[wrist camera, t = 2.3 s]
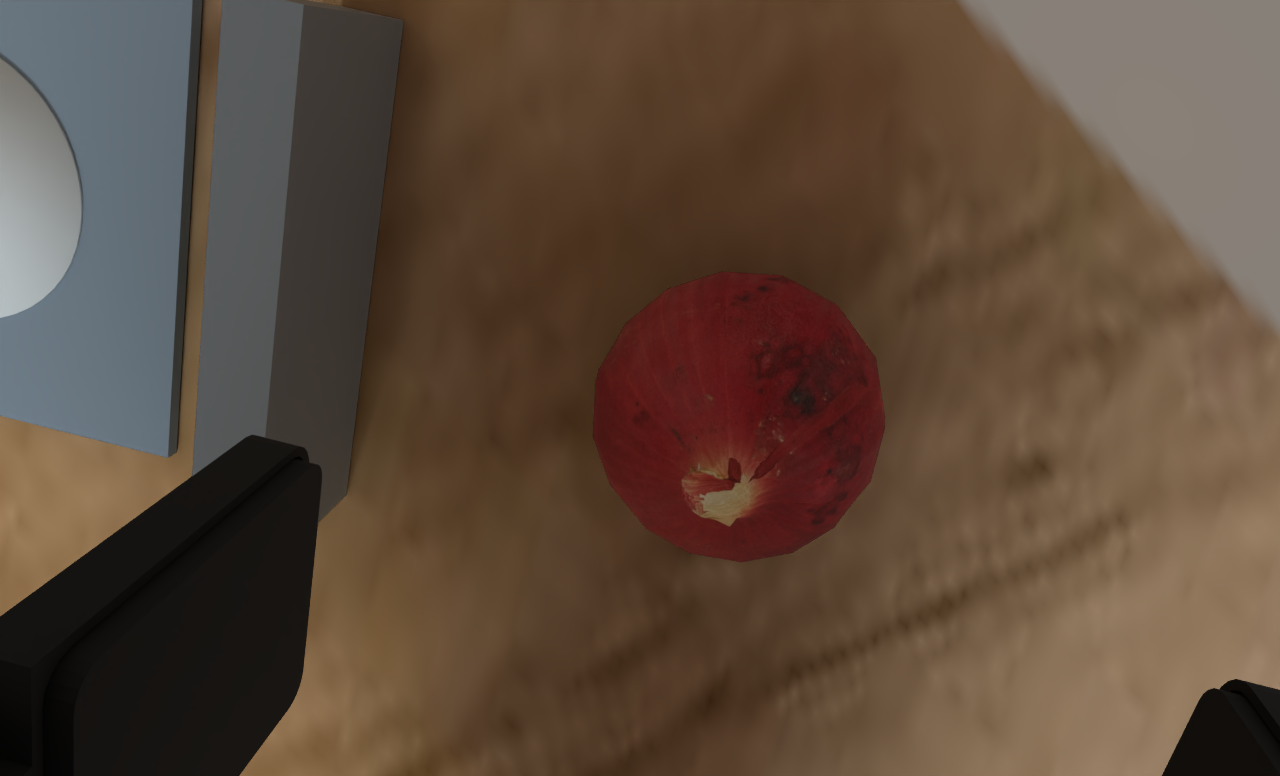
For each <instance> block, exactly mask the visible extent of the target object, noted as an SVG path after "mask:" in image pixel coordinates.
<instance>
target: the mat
mask: <svg viewBox="0 0 1280 776" xmlns="http://www.w3.org/2000/svg"><path fill="white" fill-rule="evenodd" d="M201 16H202V0H0V416H3V417H7V418H11V419H15V420H19V421H23V422H27V423H31V424H35V425H39V426H43V427H47V428H51V429H55V430H59V431H63V432H67V433H71V434H75V435H79V436H83V437H87V438H91V439H95V440H99V441H103V442H107V443H111V444H115V445H119V446H123V447H127V448H131V449H135V450H139V451H143V452H147V453H151V454H155V455H159V456H163V457H167V458H168V457H170V456H171V455H173V454H175V453H176V452H177V436H178V418H179V401H180V383H181V366H182V348H183V331H184V313H185V296H186V278H187V261H188V243H189V226H190V208H191V191H192V173H193V156H194V139H195V121H196V104H197V86H198V69H199V51H200V34H201Z"/></svg>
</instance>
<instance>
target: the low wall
mask: <svg viewBox="0 0 1280 776" xmlns="http://www.w3.org/2000/svg"><path fill="white" fill-rule="evenodd" d="M403 23H404V20H402V19H397V18H393V17H388V16H384V15H379V14H375V13H370V12H366V11H361V10H357V9H352V8H348V7H343V6H338V5H332V4H326V3H320V2H313V1H307V0H222V13H221V29H220V45H219V61H218V77H217V92H216V108H215V124H214V140H213V155H212V171H211V187H210V203H209V218H208V234H207V250H206V266H205V281H204V297H203V313H202V329H201V345H200V360H199V376H198V392H197V408H196V423H195V439H194V455H193V471H192V476H193V475H195V474H196V473H197V472H199V471H200V470H202V469H203V468H204V467H206V466H207V465H208V464H210V463H211V462H213V461H214V460H215V459H217V458H218V457H219V456H221V455H222V454H223V453H225V452H226V451H228V450H229V449H230V448H232V447H233V446H234V445H236V444H237V443H239V442H240V441H241V440H243V439H244V438H245V437H248V436H250V435H257V436H261V437H265V438H269V439H273V440H277V441H281V442H285V443H289V444H293V445H297V446H301V447H304V448H305V449H306V450H307V452H308V456H309V462H310V463H314V464H318V465H319V466H320V467H321V470H322V487H321V497H320V507H319V517H318V522H319V521H320V520H322V519H323V518H324V517H325V516H326V515H327V514H328V513H329V512H330V511H331V510H332V509H333V508H334V507H335V506H336V505H337V504H338V503H339V502H340V501H341V500H342V499H343V498H344V497H345V496H346V494H347V486H348V478H349V470H350V461H351V453H352V445H353V437H354V428H355V420H356V412H357V403H358V395H359V387H360V379H361V370H362V362H363V354H364V346H365V337H366V329H367V321H368V312H369V304H370V296H371V288H372V279H373V271H374V263H375V254H376V246H377V238H378V230H379V221H380V213H381V205H382V197H383V188H384V180H385V172H386V163H387V155H388V147H389V139H390V130H391V122H392V114H393V106H394V97H395V89H396V81H397V72H398V64H399V56H400V48H401V39H402V31H403Z"/></svg>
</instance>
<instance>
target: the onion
mask: <svg viewBox="0 0 1280 776" xmlns="http://www.w3.org/2000/svg"><path fill="white" fill-rule="evenodd" d="M884 429H885V414H884V407H883V401H882V394H881V388H880V381H879V375H878V368H877V361H876V357H875V356H874V355H873V353H872V352H871V350H870V349H869V348H868V346H867V345H866V344H865V342H864V341H863V339H862V338H861V337H860V335H859V334H858V333H857V331H856V330H855V328H854V327H853V326H852V324H851V323H850V322H849V320H848V319H847V317H846V316H845V315H844V313H843V312H842V310H841V309H840V308H839V307H838V306H837V305H836V304H834V303H833V302H831V301H829V300H827V299H825V298H823V297H821V296H820V295H818V294H816V293H814V292H812V291H810V290H808V289H806V288H805V287H803V286H801V285H799V284H797V283H795V282H793V281H792V280H790V279H788V278H786V277H784V276H780V275H765V274H750V273H736V272H719V273H716V274H713V275H710V276H707V277H703V278H700V279H697V280H694V281H691V282H688V283H684V284H681V285H678V286H675V287H672V288H668V289H667V290H666V291H665V292H663V293H662V294H661V295H660V296H658V297H657V298H656V299H655V300H654V301H652V302H651V303H650V304H649V305H648V306H646V307H645V308H644V309H643V310H641V311H640V312H639V313H638V314H637V315H635V316H634V317H633V318H632V319H631V320H629V321H628V322H627V323H626V324H625V326H624V327H623V329H622V331H621V332H620V334H619V336H618V338H617V339H616V341H615V343H614V345H613V346H612V348H611V350H610V351H609V353H608V355H607V357H606V358H605V360H604V362H603V364H602V365H601V367H600V369H599V371H598V375H597V379H596V384H595V403H594V421H593V438H594V441H595V443H596V446H597V449H598V452H599V455H600V458H601V460H602V463H603V466H604V469H605V472H606V475H607V477H608V480H609V483H610V485H611V486H612V487H613V489H614V490H615V491H616V493H617V494H618V495H619V496H620V497H621V499H622V500H623V501H624V502H625V503H626V505H627V506H628V507H629V508H630V510H631V511H632V512H633V513H634V514H635V516H636V517H637V518H638V519H639V521H640V522H641V523H642V524H643V525H644V527H645V528H646V529H648V530H650V531H651V532H653V533H655V534H657V535H658V536H660V537H662V538H664V539H666V540H667V541H669V542H671V543H673V544H674V545H676V546H678V547H680V548H682V549H683V550H685V551H687V552H689V553H691V554H697V555H703V556H709V557H715V558H720V559H726V560H732V561H736V562H745V561H751V560H756V559H762V558H767V557H773V556H778V555H783V554H789V553H793V552H794V551H796V550H798V549H799V548H801V547H803V546H804V545H806V544H808V543H809V542H811V541H813V540H814V539H816V538H818V537H819V536H821V535H823V534H824V533H826V532H828V531H829V530H831V529H833V528H834V527H835V525H836V524H837V523H838V521H839V520H840V519H841V517H842V516H843V515H844V514H845V512H846V511H847V510H848V508H849V507H850V506H851V504H852V503H853V502H854V501H855V500H856V498H857V497H858V496H859V495H860V494H861V492H862V491H863V490H864V489H865V488H866V486H867V485H868V484H869V483H870V481H871V478H872V474H873V470H874V467H875V463H876V459H877V455H878V452H879V448H880V444H881V441H882V437H883V433H884Z"/></svg>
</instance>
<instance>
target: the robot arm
mask: <svg viewBox="0 0 1280 776" xmlns="http://www.w3.org/2000/svg"><path fill="white" fill-rule="evenodd" d="M321 487H322V470H321V467H320V466H319V465H318V464H314V463H310V462H309V456H308V452H307V450H306V449H305V448H304V447H301V446H297V445H293V444H289V443H285V442H281V441H277V440H273V439H269V438H265V437H261V436H257V435H250V436H248V437H245V438H244V439H243V440H241V441H240V442H239V443H237V444H236V445H234V446H233V447H232V448H230V449H229V450H228V451H226V452H225V453H223V454H222V455H221V456H219V457H218V458H217V459H215V460H214V461H213V462H211V463H210V464H208V465H207V466H206V467H204V468H203V469H202V470H200V471H199V472H197V473H196V474H195V475H193V476H192V477H191V478H189V479H188V480H187V481H185V482H184V483H182V484H181V485H180V486H178V487H177V488H176V489H174V490H173V491H171V492H170V493H169V494H167V495H166V496H165V497H163V498H162V499H161V500H159V501H158V502H156V503H155V504H154V505H152V506H151V507H150V508H148V509H147V510H145V511H144V512H143V513H141V514H140V515H139V516H137V517H136V518H135V519H133V520H132V521H130V522H129V523H128V524H126V525H125V526H124V527H122V528H121V529H119V530H118V531H117V532H115V533H114V534H113V535H111V536H110V537H108V538H107V539H106V540H104V541H103V542H102V543H100V544H99V545H98V546H96V547H95V548H93V549H92V550H91V551H89V552H88V553H87V554H85V555H84V556H82V557H81V558H80V559H78V560H77V561H76V562H74V563H73V564H72V565H70V566H69V567H67V568H66V569H65V570H63V571H62V572H61V573H59V574H58V575H56V576H55V577H54V578H52V579H51V580H50V581H48V582H47V583H46V584H44V585H43V586H41V587H40V588H39V589H37V590H36V591H35V592H33V593H32V594H30V595H29V596H28V597H26V598H25V599H24V600H22V601H21V602H19V603H18V604H17V605H15V606H14V607H13V608H11V609H10V610H9V611H7V612H6V613H4V614H3V615H2V616H0V776H239V775H240V774H241V772H242V771H243V770H244V768H245V767H246V766H247V764H248V763H249V762H250V760H251V759H252V758H253V756H254V755H255V754H256V752H257V751H258V749H259V748H260V747H261V745H262V744H263V743H264V741H265V740H266V739H267V737H268V736H269V735H270V733H271V732H272V731H273V729H274V728H275V727H276V725H277V724H278V722H279V721H280V720H281V718H282V717H283V716H284V714H285V713H286V712H287V710H288V709H289V707H290V706H291V704H292V703H293V700H294V698H295V696H296V694H297V692H298V689H299V686H300V683H301V679H302V674H303V667H304V657H305V647H306V637H307V627H308V617H309V607H310V597H311V587H312V577H313V567H314V557H315V547H316V537H317V527H318V517H319V507H320V497H321ZM1162 776H1280V690H1278V689H1274V688H1270V687H1266V686H1262V685H1258V684H1254V683H1250V682H1246V681H1242V680H1238V679H1235V680H1231V681H1228V682H1227V683H1225V684H1224V685H1223V686H1222V687H1221V688H1220V690H1219V689H1215V688H1213V689H1209V690H1208V691H1206V692H1205V693H1204V694H1203V695H1202V697H1201V698H1200V700H1199V702H1198V704H1197V706H1196V708H1195V710H1194V712H1193V714H1192V716H1191V718H1190V720H1189V722H1188V724H1187V726H1186V728H1185V730H1184V732H1183V734H1182V736H1181V738H1180V740H1179V742H1178V744H1177V746H1176V748H1175V750H1174V752H1173V754H1172V756H1171V758H1170V760H1169V762H1168V764H1167V766H1166V768H1165V770H1164V772H1163V775H1162Z"/></svg>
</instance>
